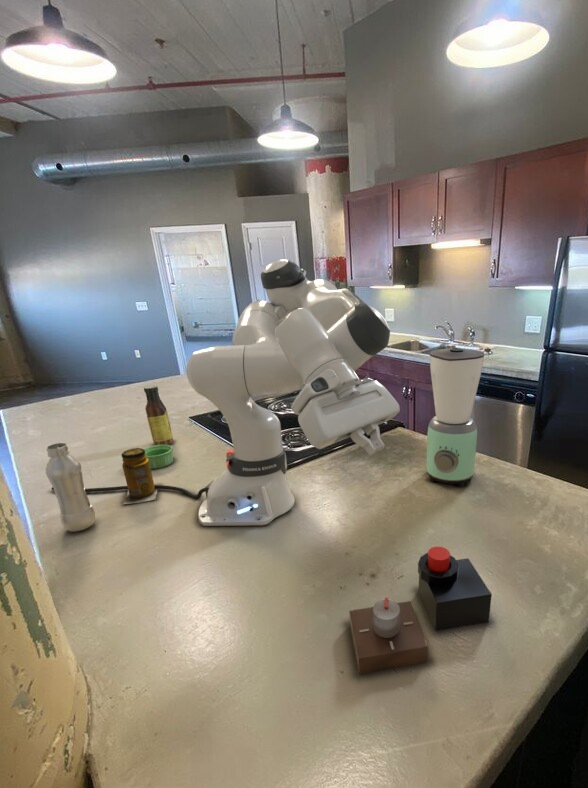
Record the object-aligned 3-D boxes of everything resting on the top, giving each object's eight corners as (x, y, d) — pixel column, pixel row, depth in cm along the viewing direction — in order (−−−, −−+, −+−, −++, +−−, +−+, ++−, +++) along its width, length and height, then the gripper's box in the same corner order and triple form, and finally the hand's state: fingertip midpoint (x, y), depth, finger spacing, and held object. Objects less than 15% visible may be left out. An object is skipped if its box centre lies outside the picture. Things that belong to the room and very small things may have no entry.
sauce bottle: (177, 442, 142) (166, 385, 135) (160, 448, 137) (148, 390, 130) (166, 438, 146) (154, 383, 139) (149, 444, 141) (136, 387, 134)
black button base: (430, 632, 65) (432, 594, 63) (413, 589, 74) (414, 554, 72) (488, 622, 67) (492, 584, 64) (464, 581, 76) (467, 547, 73)
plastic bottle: (62, 538, 91) (34, 454, 84) (66, 523, 96) (41, 443, 89) (96, 530, 93) (72, 448, 86) (99, 516, 99) (76, 438, 92)
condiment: (158, 485, 113) (149, 444, 109) (155, 500, 106) (145, 457, 101) (128, 490, 111) (118, 448, 107) (123, 505, 103) (111, 461, 99)
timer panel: (359, 674, 59) (358, 657, 57) (349, 624, 67) (349, 609, 66) (427, 661, 60) (427, 645, 59) (409, 615, 69) (410, 600, 67)
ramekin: (135, 467, 124) (132, 453, 123) (160, 455, 132) (157, 442, 130) (158, 471, 121) (155, 458, 119) (181, 459, 129) (179, 446, 127)
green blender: (469, 494, 105) (480, 356, 93) (418, 486, 110) (421, 353, 97) (479, 464, 122) (489, 343, 109) (434, 458, 126) (439, 341, 114)
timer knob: (400, 638, 60) (400, 618, 59) (372, 637, 61) (372, 617, 59) (399, 617, 64) (399, 597, 63) (373, 616, 64) (373, 597, 63)
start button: (431, 574, 67) (432, 561, 66) (424, 560, 71) (425, 547, 70) (452, 571, 68) (453, 558, 67) (444, 557, 71) (445, 545, 70)
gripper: (364, 385, 83) (403, 442, 81) (282, 410, 69) (326, 480, 66) (381, 366, 79) (423, 425, 76) (297, 388, 65) (345, 462, 62)
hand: (377, 451), depth 71 cm, fingers closed
